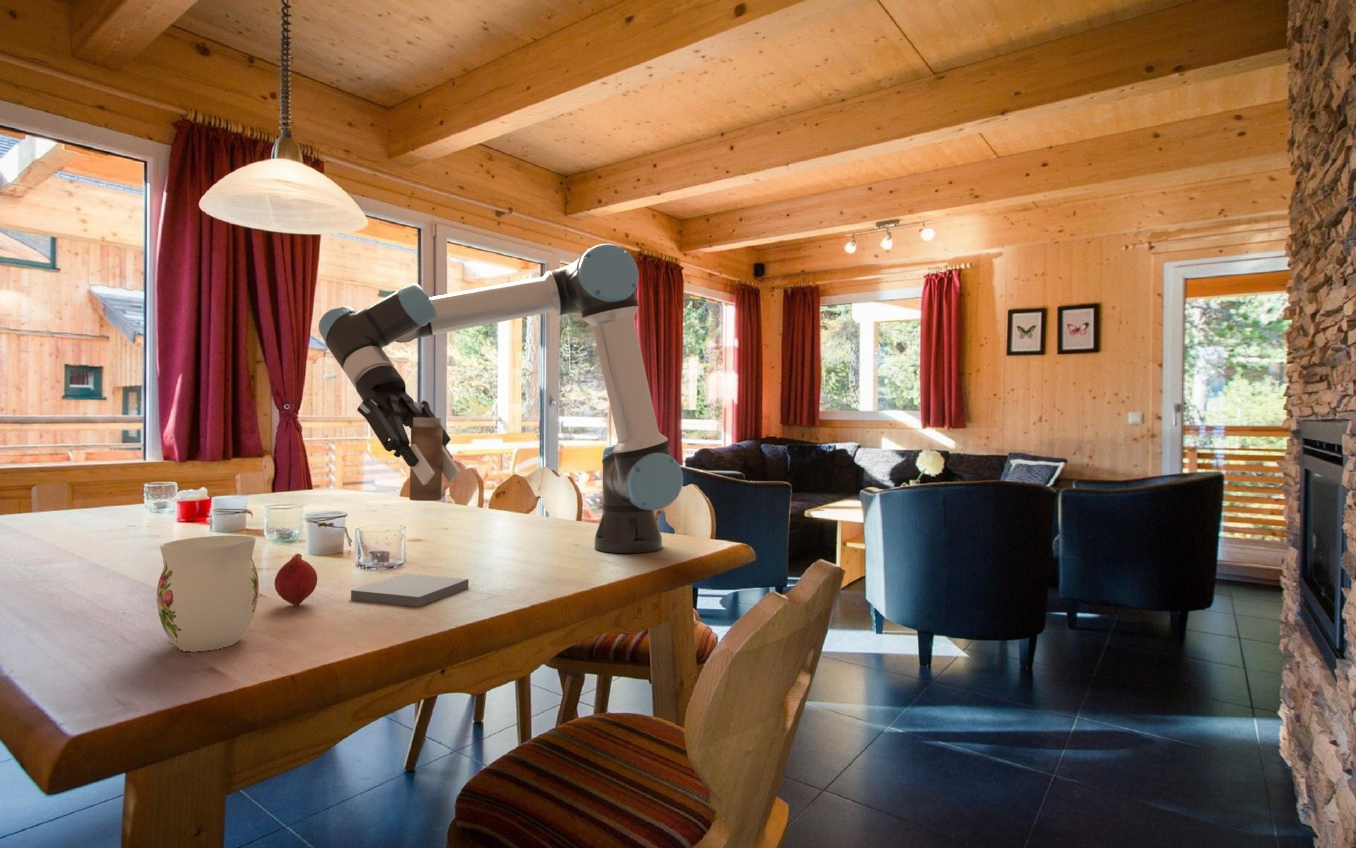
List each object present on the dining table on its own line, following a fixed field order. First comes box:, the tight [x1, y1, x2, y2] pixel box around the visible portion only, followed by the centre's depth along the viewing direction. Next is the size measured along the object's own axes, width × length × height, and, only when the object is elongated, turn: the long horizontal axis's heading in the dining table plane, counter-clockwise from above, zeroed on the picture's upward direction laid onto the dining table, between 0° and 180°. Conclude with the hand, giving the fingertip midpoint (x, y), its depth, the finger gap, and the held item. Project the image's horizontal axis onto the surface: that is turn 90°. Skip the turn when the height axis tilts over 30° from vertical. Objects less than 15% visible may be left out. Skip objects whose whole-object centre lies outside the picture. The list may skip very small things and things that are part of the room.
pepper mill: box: [409, 417, 444, 502], centre depth 121 cm, size 5×5×14 cm
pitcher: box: [156, 535, 260, 653], centre depth 94 cm, size 11×18×14 cm, turn 45°
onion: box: [273, 553, 318, 606], centre depth 112 cm, size 6×6×8 cm
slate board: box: [350, 573, 469, 608], centre depth 120 cm, size 13×13×2 cm
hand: (442, 477), depth 119 cm, fingers closed on pepper mill, 5 cm apart
